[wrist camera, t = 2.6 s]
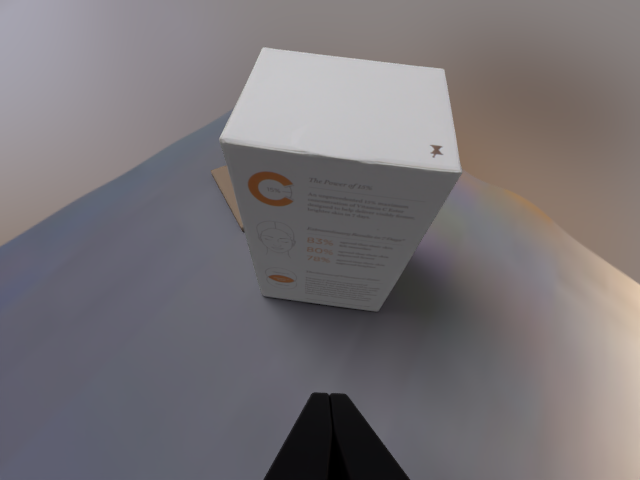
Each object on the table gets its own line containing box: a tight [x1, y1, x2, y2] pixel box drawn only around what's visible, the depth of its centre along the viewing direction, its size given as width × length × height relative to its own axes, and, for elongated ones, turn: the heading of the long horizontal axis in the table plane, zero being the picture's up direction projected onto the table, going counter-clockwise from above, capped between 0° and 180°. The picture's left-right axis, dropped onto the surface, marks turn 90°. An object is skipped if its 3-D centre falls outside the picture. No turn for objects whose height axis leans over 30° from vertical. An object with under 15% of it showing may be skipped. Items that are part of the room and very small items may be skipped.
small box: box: [219, 47, 462, 312], centre depth 17 cm, size 8×6×13 cm
